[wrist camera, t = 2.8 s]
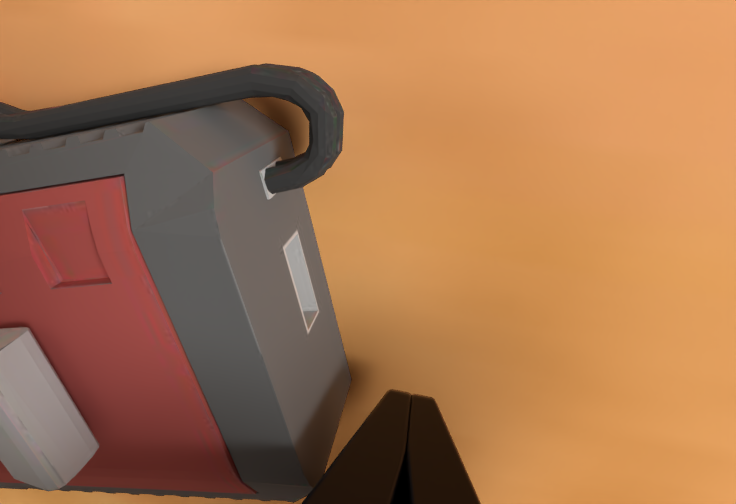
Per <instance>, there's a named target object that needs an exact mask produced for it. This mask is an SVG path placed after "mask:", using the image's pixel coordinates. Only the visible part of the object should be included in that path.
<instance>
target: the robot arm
mask: <svg viewBox="0 0 736 504" xmlns="http://www.w3.org/2000/svg"><path fill="white" fill-rule="evenodd" d="M302 504H481V503H480V501H479V499H478V496H477V494H476V492H475V489H474V487H473V485H472V483H471V480H470V478H469V476H468V473H467V471H466V469H465V467H464V464H463V462H462V460H461V458H460V455H459V453H458V451H457V448H456V446H455V444H454V442H453V439H452V437H451V435H450V433H449V430H448V428H447V426H446V423H445V421H444V419H443V417H442V414H441V412H440V410H439V408H438V405H437V403H436V401H435V400H434V399H433V398H432V397H427V396H423V395H418V394H413V395H411V394H410V393H408V392H403V391H398V390H393V389H391V390H389V391H388V392H387V393H386V394H385V395H384V396H383V398H382V399H381V400H380V402H379V403H378V404H377V406H376V407H375V408H374V410H373V411H372V412H371V413H370V415H369V416H368V417H367V419H366V420H365V421H364V423H363V424H362V425H361V427H360V428H359V429H358V430H357V432H356V433H355V434H354V436H353V437H352V438H351V440H350V441H349V442H348V443H347V445H346V446H345V447H344V449H343V450H342V451H341V453H340V454H339V455H338V457H337V458H336V459H335V460H334V462H333V463H332V464H331V466H330V467H329V468H328V470H327V471H326V472H325V474H324V475H323V476H322V477H321V479H320V480H319V481H318V483H317V484H316V485H315V487H314V488H313V489H312V491H311V492H310V493H309V494H308V496H307V497H306V498H305V500H304V501H303V502H302Z"/></svg>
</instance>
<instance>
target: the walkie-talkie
mask: <svg viewBox="0 0 736 504" xmlns="http://www.w3.org/2000/svg"><path fill="white" fill-rule="evenodd" d="M253 97H276V98H280V99H283V100H287V101H290V102H292V103H294V104H296V105H297V106H299V107H300V108H302V110H303V112H304V113H305V115H306V117H307V118H308V120H309V146H308V148H307V150H306V152H305V153H303V154H300V155H298V156H296V157H295V154H294V150H293V146H292V142H291V138H290V134H289V131H288V130H286V129H285V128H283V127H282V126H280V125H279V124H277V123H276V122H274V121H273V120H271V119H270V118H268V117H267V116H265V115H264V114H262V113H261V112H260V111H258V110H257V109H255V108H254V107H252V106H251V105H249V104H248V103H246V102H245V101H243V100H242V99H246V98H253ZM343 118H344V111H343V109H342V107H341V104H340V102H339V100H338V98H337V96H336V94H335V91H334V90H333V89H332V88H331V87H330V86H329V85H328V84H327V83H326V82H325V81H324V80H322V79H321V78H320V77H319V76H318V75H316V74H314V73H313V72H310V71H308V70H305V69H302V68H300V67H292V66H284V65H275V64H267V63H266V64H261V65H250V66H246V67H241V68H236V69H232V70H227V71H222V72H218V73H213V74H208V75H204V76H199V77H194V78H190V79H185V80H180V81H176V82H171V83H166V84H162V85H157V86H152V87H148V88H143V89H138V90H134V91H129V92H124V93H120V94H115V95H110V96H106V97H101V98H96V99H92V100H87V101H82V102H78V103H73V104H68V105H64V106H58V107H52V108H46V109H40V110H34V111H25V110H21V109H18V108H16V107H13V106H10V105H8V104H5V103H2V102H0V488H12V489H28V488H33V489H41V490H46V491H53V490H62V491H71V490H74V491H84V492H93V491H99V492H106V493H129V494H136V495H139V494H152V495H156V496H164V495H176V496H181V497H189V496H196V497H205V498H216V497H217V498H231V499H236V500H242V499H257V500H261V501H270V500H277V501H288V502H293V503H294V502H296V501H297V500H299V499H301V498H303V497H305V496H307V495H308V494H309V493H310V492H311V491H312V489H313V488H314V487H315V485H316V484H317V483H318V481H319V480H320V479H321V477H322V476H323V475H324V472H325V468H326V465H327V462H328V458H329V455H330V451H331V448H332V445H333V441H334V438H335V434H336V431H337V428H338V424H339V421H340V417H341V414H342V411H343V407H344V404H345V401H346V397H347V394H348V390H349V387H350V384H351V380H352V379H351V376H350V372H349V368H348V364H347V360H346V356H345V352H344V348H343V344H342V340H341V336H340V332H339V328H338V324H337V320H336V316H335V312H334V308H333V304H332V300H331V296H330V292H329V288H328V285H327V281H326V277H325V273H324V269H323V265H322V261H321V257H320V253H319V249H318V245H317V241H316V237H315V233H314V229H313V225H312V221H311V217H310V213H309V209H308V205H307V201H306V198H305V194H304V190H303V187H304V186H305V185H307V184H309V183H310V182H312V181H314V180H315V179H317V178H319V177H320V176H322V175H324V173H325V172H326V170H327V169H329V168H330V167H331V166H332V165H333V163H334V162H335V160H336V159H337V157H338V156H339V154H340V153H341V151H342V141H343ZM15 139H28V140H23V141H18V142H16V140H15ZM12 142H14V143H12ZM8 143H9V144H8Z"/></svg>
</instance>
